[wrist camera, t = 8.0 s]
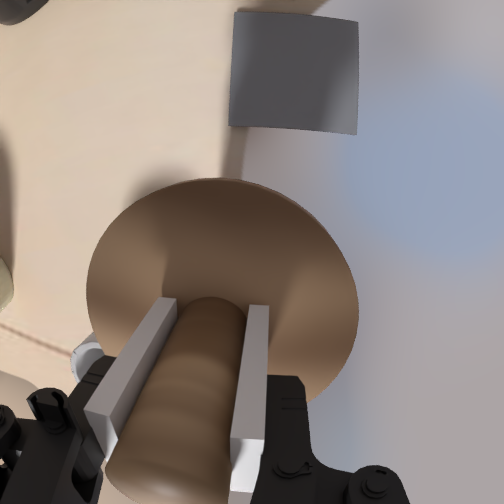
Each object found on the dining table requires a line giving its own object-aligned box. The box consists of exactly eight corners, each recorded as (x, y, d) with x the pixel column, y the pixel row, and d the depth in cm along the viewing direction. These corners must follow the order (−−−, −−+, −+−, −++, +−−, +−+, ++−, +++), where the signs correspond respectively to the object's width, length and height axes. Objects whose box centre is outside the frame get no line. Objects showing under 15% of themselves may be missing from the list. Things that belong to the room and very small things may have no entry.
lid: (86, 178, 13) (-85, 234, 4) (370, 187, 12) (524, 269, 4) (119, 391, 16) (55, 512, 8) (328, 411, 16) (349, 557, 7)
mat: (235, 14, 25) (234, 11, 24) (356, 24, 25) (358, 22, 24) (229, 126, 29) (228, 125, 28) (354, 135, 28) (356, 134, 28)
